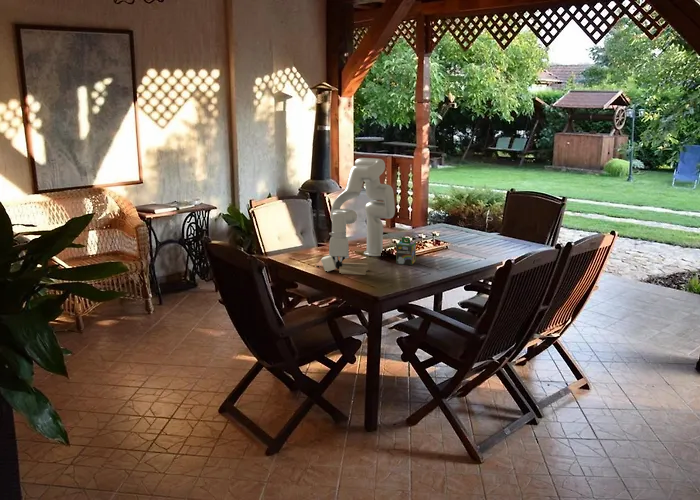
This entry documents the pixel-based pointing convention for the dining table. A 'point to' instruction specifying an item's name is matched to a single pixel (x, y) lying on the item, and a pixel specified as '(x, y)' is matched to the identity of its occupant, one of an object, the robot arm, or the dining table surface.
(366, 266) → the slot rack
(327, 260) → the cream block
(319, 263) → the terracotta tile
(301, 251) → the dining table surface
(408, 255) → the chalk box
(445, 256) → the dining table surface
